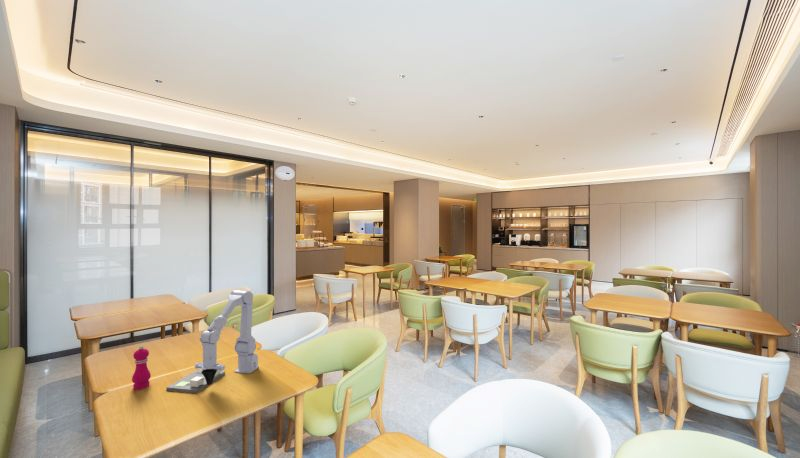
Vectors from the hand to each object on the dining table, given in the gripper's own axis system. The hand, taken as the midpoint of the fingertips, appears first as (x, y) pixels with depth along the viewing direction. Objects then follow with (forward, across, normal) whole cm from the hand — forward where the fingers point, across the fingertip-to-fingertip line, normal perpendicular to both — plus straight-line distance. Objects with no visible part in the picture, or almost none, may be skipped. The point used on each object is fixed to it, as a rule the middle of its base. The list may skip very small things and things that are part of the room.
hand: (209, 383), depth 160 cm
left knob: (+1, -7, 0) cm, 7 cm away
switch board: (+3, -12, +6) cm, 14 cm away
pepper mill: (+3, -35, -3) cm, 35 cm away
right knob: (+1, -7, +12) cm, 14 cm away
